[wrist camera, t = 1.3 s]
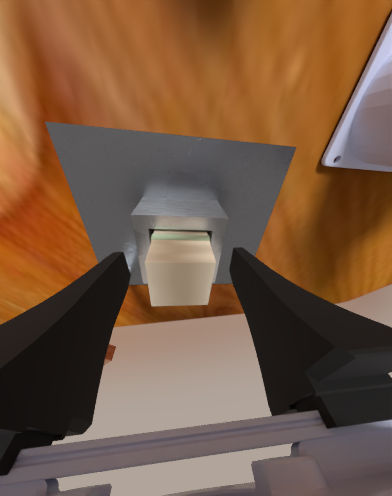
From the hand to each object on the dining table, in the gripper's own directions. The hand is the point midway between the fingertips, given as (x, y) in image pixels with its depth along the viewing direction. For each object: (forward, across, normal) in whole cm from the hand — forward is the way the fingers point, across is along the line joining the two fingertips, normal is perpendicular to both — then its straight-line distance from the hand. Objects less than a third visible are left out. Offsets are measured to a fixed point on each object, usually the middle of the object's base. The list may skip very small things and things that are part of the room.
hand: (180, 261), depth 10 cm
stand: (+5, 0, 0) cm, 5 cm away
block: (+4, 0, 0) cm, 4 cm away
